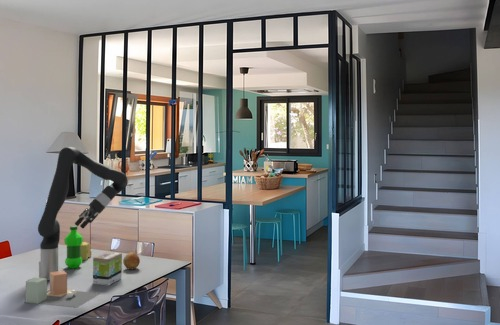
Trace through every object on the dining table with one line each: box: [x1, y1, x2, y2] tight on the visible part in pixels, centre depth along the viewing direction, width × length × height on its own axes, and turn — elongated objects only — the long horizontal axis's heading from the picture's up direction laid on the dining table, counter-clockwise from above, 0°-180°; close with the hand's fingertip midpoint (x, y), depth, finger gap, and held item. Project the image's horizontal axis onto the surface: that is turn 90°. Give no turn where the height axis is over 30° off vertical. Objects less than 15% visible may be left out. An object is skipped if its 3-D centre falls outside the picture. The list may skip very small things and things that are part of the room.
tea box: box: [92, 251, 123, 286], centre depth 271 cm, size 15×10×15 cm
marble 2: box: [70, 289, 77, 296], centre depth 244 cm, size 3×3×3 cm
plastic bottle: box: [64, 225, 84, 270], centre depth 299 cm, size 10×10×25 cm
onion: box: [122, 252, 141, 270], centre depth 297 cm, size 10×10×10 cm
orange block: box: [49, 270, 68, 295], centre depth 249 cm, size 7×7×10 cm
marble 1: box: [66, 292, 73, 298], centre depth 241 cm, size 3×3×3 cm
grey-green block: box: [25, 277, 48, 304], centre depth 237 cm, size 7×7×10 cm
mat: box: [24, 289, 102, 309], centre depth 241 cm, size 28×22×1 cm
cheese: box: [81, 241, 92, 261], centre depth 321 cm, size 10×11×10 cm
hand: (78, 226), depth 258 cm, fingers open, 8 cm apart
